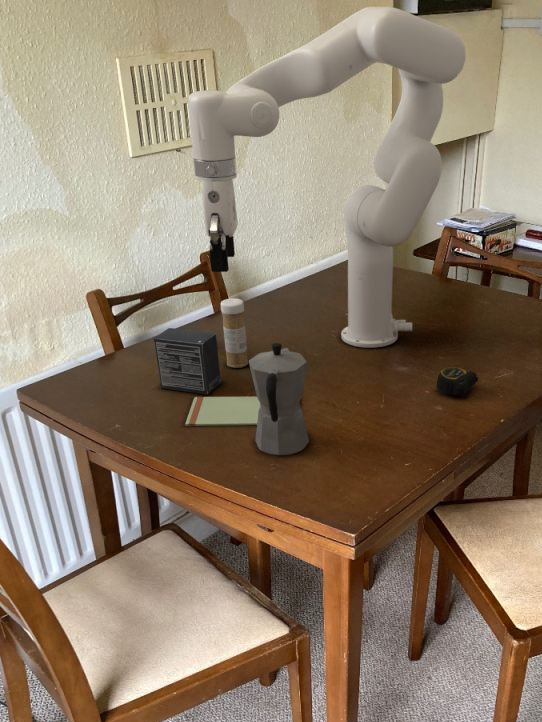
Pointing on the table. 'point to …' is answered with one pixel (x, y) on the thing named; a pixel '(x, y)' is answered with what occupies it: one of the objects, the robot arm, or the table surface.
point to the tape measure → (455, 381)
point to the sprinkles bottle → (234, 332)
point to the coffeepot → (279, 400)
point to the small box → (188, 360)
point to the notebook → (223, 411)
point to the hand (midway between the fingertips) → (223, 263)
